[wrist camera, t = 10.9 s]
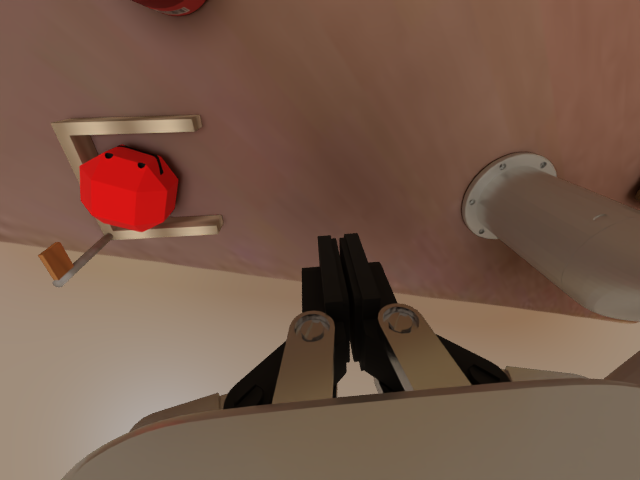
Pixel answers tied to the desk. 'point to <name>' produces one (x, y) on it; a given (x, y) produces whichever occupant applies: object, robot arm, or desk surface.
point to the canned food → (172, 6)
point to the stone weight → (638, 196)
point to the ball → (128, 188)
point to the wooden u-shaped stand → (82, 149)
